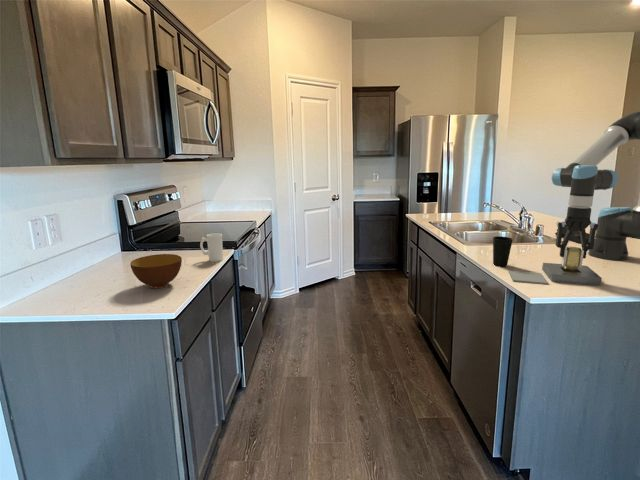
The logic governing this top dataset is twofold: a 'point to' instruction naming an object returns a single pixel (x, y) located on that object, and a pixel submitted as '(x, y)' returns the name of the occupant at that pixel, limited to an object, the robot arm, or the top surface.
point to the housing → (571, 275)
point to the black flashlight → (573, 235)
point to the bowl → (156, 269)
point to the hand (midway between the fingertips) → (571, 265)
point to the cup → (501, 250)
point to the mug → (213, 247)
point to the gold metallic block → (572, 259)
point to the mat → (528, 277)
